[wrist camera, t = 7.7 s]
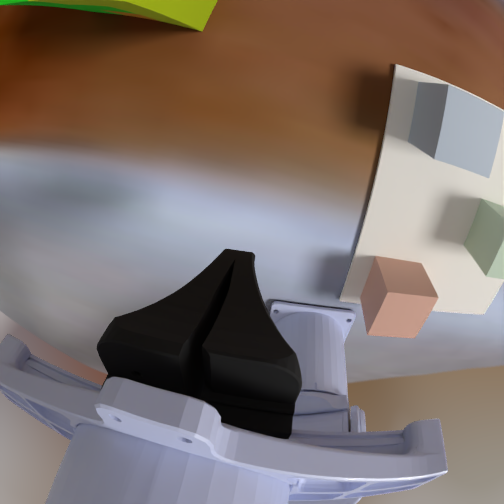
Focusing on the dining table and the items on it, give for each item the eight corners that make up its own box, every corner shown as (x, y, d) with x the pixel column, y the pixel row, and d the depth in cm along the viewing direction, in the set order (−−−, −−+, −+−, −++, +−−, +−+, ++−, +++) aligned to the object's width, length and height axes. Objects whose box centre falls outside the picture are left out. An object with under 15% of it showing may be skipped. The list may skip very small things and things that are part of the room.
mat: (482, 313, 24) (483, 314, 24) (339, 299, 26) (339, 301, 25) (553, 143, 13) (555, 144, 13) (395, 64, 14) (396, 64, 14)
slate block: (457, 157, 17) (488, 178, 13) (407, 141, 17) (434, 159, 13) (469, 102, 14) (504, 112, 10) (418, 81, 14) (448, 84, 11)
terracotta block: (403, 302, 24) (414, 338, 21) (359, 297, 25) (367, 335, 21) (421, 263, 22) (438, 297, 18) (375, 255, 22) (387, 291, 19)
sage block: (495, 252, 20) (517, 281, 16) (463, 245, 20) (485, 276, 17) (513, 209, 17) (540, 235, 14) (481, 198, 18) (510, 224, 14)
